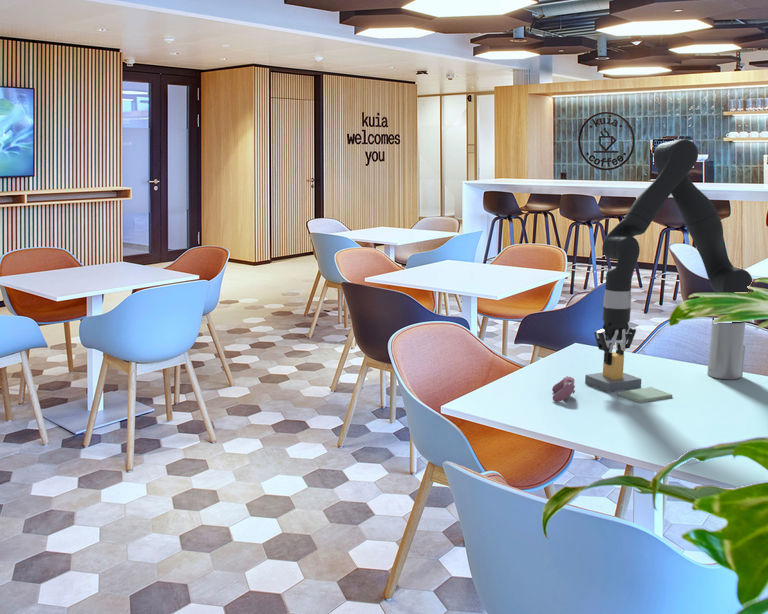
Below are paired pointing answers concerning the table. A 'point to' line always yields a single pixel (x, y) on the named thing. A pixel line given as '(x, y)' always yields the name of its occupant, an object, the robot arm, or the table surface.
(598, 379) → the graphite dock
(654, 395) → the sage mat
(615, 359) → the amber plug
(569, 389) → the pink toy
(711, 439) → the table surface
